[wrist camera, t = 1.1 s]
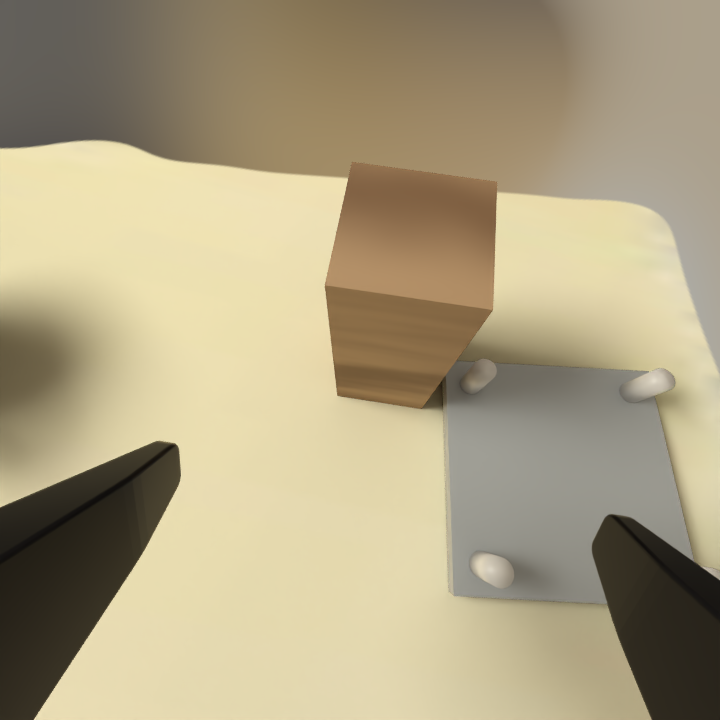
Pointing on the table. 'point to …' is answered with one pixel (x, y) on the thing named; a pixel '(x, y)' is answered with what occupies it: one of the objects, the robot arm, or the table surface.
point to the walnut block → (408, 280)
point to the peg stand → (550, 475)
